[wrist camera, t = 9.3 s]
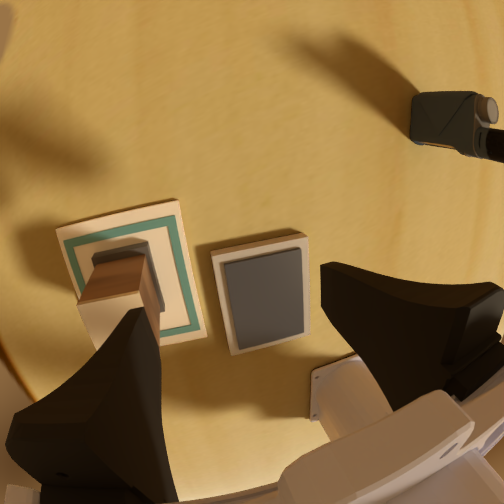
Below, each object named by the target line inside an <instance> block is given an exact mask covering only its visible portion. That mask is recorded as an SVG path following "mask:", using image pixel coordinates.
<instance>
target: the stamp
mask: <svg viewBox="0 0 504 504" xmlns="http://www.w3.org/2000/svg"><path fill="white" fill-rule="evenodd" d="M91 260H92V263H93V266H94V270H93V272H92V274H91V276H90V278H89V280H88V282H87V284H86V286H85V288H84V290H83V292H82V294H81V296H80V299H79V301H78V303H77V305H76V306H77V308H78V311H79V313H80V316H81V318H82V320H83V322H84V325H85V327H86V329H87V331H88V333H89V336H90V338H91V340H92V342H93V344H94V346H95V348H96V350H98V349H99V348H100V347H101V345H102V344H103V343H104V342H105V341H106V339H107V338H108V337H109V335H110V334H111V333H112V331H113V330H114V329H115V327H116V326H117V325H118V323H119V322H120V321H121V319H122V318H123V317H124V315H125V314H126V313H127V311H128V310H129V309H134V308H138V307H143V306H144V308H145V311H146V314H147V317H148V319H149V322H150V325H151V328H152V330H153V333H154V336H155V338H156V341H157V343H158V346H159V351H160V313H161V312H165V303H164V299H163V296H162V292H161V289H160V285H159V281H158V278H157V274H156V270H155V266H154V262H153V258H152V254H151V250H150V246H149V242H148V241H146V242H142V243H137V244H132V245H128V246H123V247H119V248H114V249H110V250H105V251H101V252H97V253H94V254H93V256H92V258H91Z"/></svg>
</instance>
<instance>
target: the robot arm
mask: <svg viewBox="0 0 504 504" xmlns="http://www.w3.org/2000/svg"><path fill="white" fill-rule="evenodd" d="M320 274H321V307H322V309H323V310H324V312H325V314H326V316H327V317H328V319H329V320H330V322H331V323H332V325H333V326H334V327H335V328H336V330H337V331H338V332H339V333H340V334H341V336H342V337H343V338H344V339H345V340H346V341H347V343H348V344H349V345H350V346H351V347H352V349H353V350H354V351H355V352H356V353H357V354H356V355H353V356H350V357H348V358H345V359H342V360H340V361H337V362H334V363H331V364H329V365H326V366H323V367H320V368H317V369H315V370H313V371H312V373H311V400H310V421H311V422H315V421H318V420H319V421H320V423H321V425H322V427H323V428H324V430H325V432H326V434H327V435H328V437H329V439H330V441H331V442H329V443H326V444H324V445H322V446H320V447H318V448H316V449H314V450H312V451H310V452H308V453H306V454H304V455H302V456H301V457H299V458H298V459H297V460H295V461H294V462H293V463H291V464H290V465H289V466H287V467H286V468H285V469H284V471H283V472H282V475H281V477H280V479H279V481H278V482H274V483H271V484H268V485H264V486H260V487H256V488H252V489H248V490H244V491H240V492H236V493H231V494H226V495H221V496H216V497H210V498H204V499H198V500H191V501H183V502H179V500H178V496H177V493H176V489H175V486H174V482H173V478H172V474H171V470H170V465H169V461H168V456H167V451H166V445H165V440H164V433H163V426H162V415H161V359H160V351H159V346H158V343H157V341H156V338H155V336H154V333H153V330H152V328H151V325H150V322H149V319H148V317H147V314H146V311H145V308H144V306H143V307H138V308H134V309H129V310H128V311H127V313H126V314H125V315H124V317H123V318H122V319H121V321H120V322H119V323H118V325H117V326H116V327H115V329H114V330H113V331H112V333H111V334H110V335H109V337H108V338H107V339H106V341H105V342H104V343H103V344H102V345H101V347H100V348H99V349H98V350H97V352H96V353H95V354H94V355H93V356H92V357H91V358H90V359H89V361H88V362H87V363H86V364H85V365H84V366H83V367H82V368H81V369H80V370H79V371H77V372H76V373H75V374H74V375H73V376H72V377H70V378H69V379H68V380H67V381H66V382H64V383H63V384H62V385H61V386H60V387H58V388H57V389H56V390H54V391H53V392H51V393H50V394H48V395H47V396H45V397H44V398H42V399H41V400H39V401H37V402H36V403H34V404H32V405H30V406H28V407H27V408H25V409H23V410H21V411H19V412H17V413H15V414H14V417H13V420H12V423H11V426H10V429H9V433H8V436H7V439H6V443H5V446H6V450H7V452H8V453H9V455H10V456H11V458H12V459H13V460H14V461H15V462H16V463H17V464H18V465H19V466H20V467H21V468H22V469H24V470H25V471H26V472H27V473H28V474H29V475H31V476H32V477H33V478H35V479H36V480H37V481H38V482H39V483H41V484H42V486H41V492H39V491H37V490H35V489H32V488H27V487H22V486H17V485H12V484H8V485H7V490H6V496H5V503H4V504H504V481H503V480H502V478H501V477H500V476H499V475H498V474H497V472H495V470H494V469H493V468H492V467H491V466H490V465H489V463H488V462H487V461H486V460H485V459H484V458H483V456H484V455H485V454H487V453H488V451H490V450H491V448H493V446H494V445H495V444H496V443H497V442H498V441H499V440H500V439H501V438H502V437H503V436H504V345H503V344H502V343H500V342H499V341H500V340H501V338H502V337H501V335H500V334H498V333H497V332H496V331H497V328H498V325H499V322H500V319H501V317H502V314H503V310H504V289H503V288H501V287H499V286H498V285H496V284H494V283H492V282H483V283H474V284H456V285H448V284H430V283H420V282H414V281H408V280H402V279H397V278H393V277H389V276H385V275H381V274H378V273H374V272H371V271H367V270H364V269H361V268H357V267H354V266H351V265H347V264H343V263H339V262H329V263H325V264H322V265H320Z"/></svg>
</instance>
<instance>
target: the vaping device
mask: <svg viewBox="0 0 504 504" xmlns="http://www.w3.org/2000/svg"><path fill="white" fill-rule="evenodd" d="M498 117H499V112H498V106H497V104H496V102H495V100H494V99H493V98H491V97H484V96H483V95H482V94H478V93H476V92H473V91H438V92H422V93H419V94H418V95H416V96H414V97H413V100H412V114H411V128H410V139H411V141H413V142H414V143H416V144H418V145H424V144H425V145H430V146H437V147H443V148H450V149H456V150H457V151H458V152H459V153H460V154H462V155H465V156H468V157H471V156H472V157H476V158H480V159H483V158H484V159H488V160H493V161H497V162H501V163H504V130H499V129H492V128H489V126H490V124H496V123H497V121H498ZM491 153H492V154H491Z"/></svg>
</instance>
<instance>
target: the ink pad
mask: <svg viewBox="0 0 504 504" xmlns="http://www.w3.org/2000/svg"><path fill="white" fill-rule="evenodd" d="M210 254H211V260H212V265H213V271H214V276H215V282H216V287H217V292H218V297H219V302H220V308H221V313H222V318H223V323H224V327H225V332H226V337H227V342H228V347H229V350H230V354H231V356H234V355H238V354H242V353H246V352H250V351H254V350H258V349H262V348H265V347H269V346H273V345H277V344H280V343H284V342H287V341H291V340H294V339H298V338H301V337H304V336H308V335H310V275H309V246H308V236H306V235H305V234H304V233H298V234H293V235H288V236H283V237H278V238H273V239H268V240H263V241H258V242H253V243H248V244H243V245H238V246H233V247H228V248H223V249H218V250H213V251H210Z"/></svg>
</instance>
